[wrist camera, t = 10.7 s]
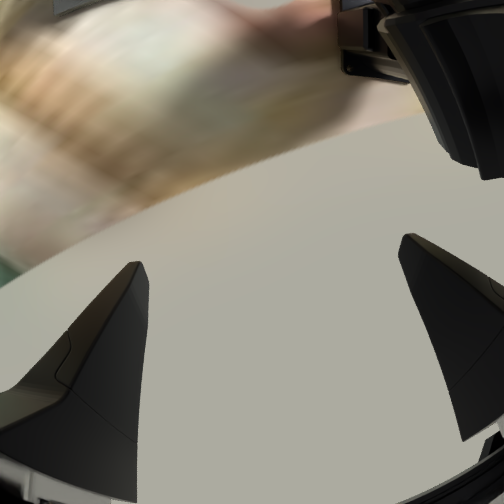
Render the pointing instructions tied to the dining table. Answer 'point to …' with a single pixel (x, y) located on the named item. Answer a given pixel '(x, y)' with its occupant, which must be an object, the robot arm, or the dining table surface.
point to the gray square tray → (70, 5)
